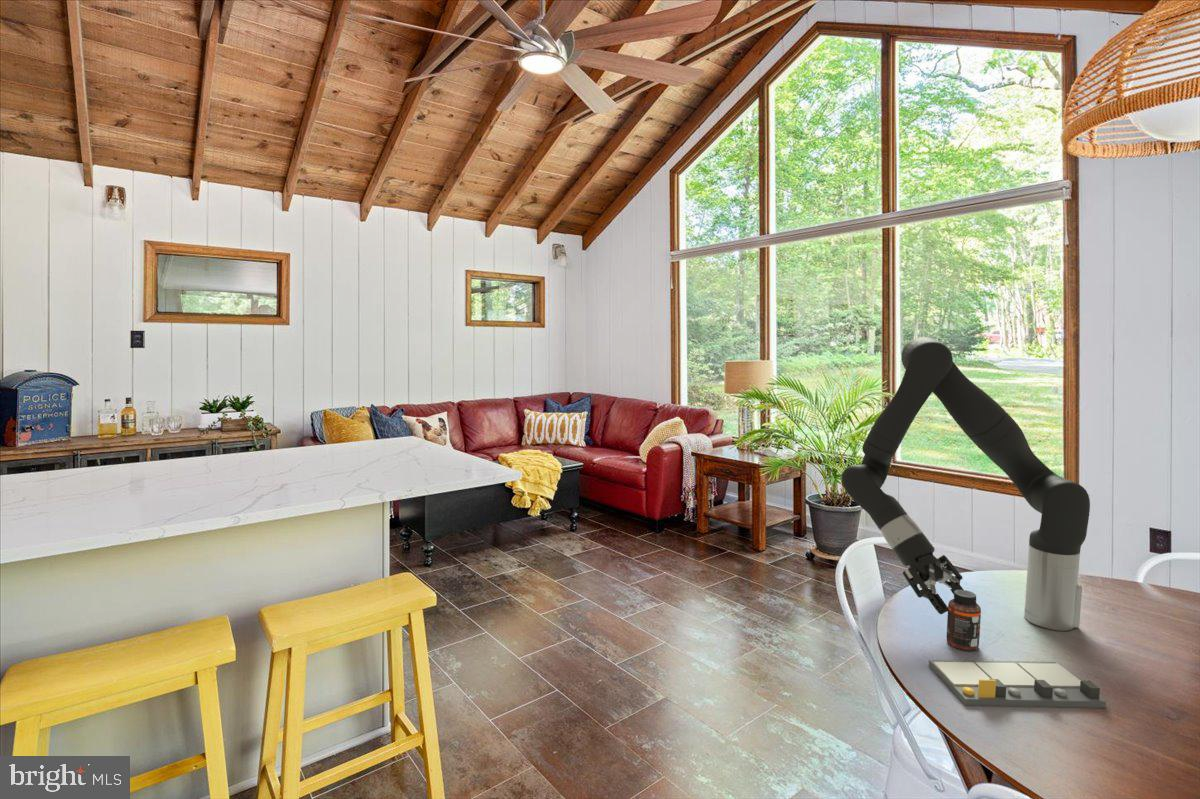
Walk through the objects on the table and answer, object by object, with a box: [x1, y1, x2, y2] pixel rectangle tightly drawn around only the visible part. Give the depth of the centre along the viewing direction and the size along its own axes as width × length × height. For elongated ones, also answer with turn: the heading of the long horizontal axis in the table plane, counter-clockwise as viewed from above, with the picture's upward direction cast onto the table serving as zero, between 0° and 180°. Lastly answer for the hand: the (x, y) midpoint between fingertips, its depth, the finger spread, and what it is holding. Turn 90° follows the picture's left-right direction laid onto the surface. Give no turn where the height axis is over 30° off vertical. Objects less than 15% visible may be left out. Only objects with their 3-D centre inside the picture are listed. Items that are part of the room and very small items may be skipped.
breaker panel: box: [928, 659, 1107, 709], centre depth 113 cm, size 24×13×4 cm, turn 87°
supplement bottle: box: [946, 589, 982, 652], centre depth 128 cm, size 6×6×11 cm
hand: (955, 607), depth 129 cm, fingers open, 8 cm apart
